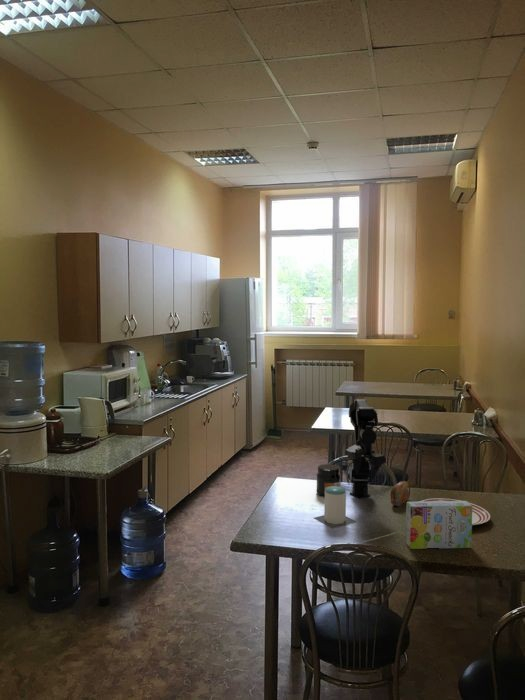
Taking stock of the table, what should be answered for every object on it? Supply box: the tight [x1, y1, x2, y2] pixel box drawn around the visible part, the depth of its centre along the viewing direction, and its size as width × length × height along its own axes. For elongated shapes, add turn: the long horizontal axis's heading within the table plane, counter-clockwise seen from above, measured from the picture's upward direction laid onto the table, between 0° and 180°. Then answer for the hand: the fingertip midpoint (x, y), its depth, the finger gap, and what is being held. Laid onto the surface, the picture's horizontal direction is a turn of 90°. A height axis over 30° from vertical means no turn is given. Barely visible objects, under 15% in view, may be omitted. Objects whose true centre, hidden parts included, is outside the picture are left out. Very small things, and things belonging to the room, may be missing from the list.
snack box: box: [405, 500, 473, 550], centre depth 193 cm, size 21×6×15 cm, turn 92°
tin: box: [390, 480, 411, 507], centre depth 235 cm, size 15×3×8 cm, turn 143°
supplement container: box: [315, 463, 342, 498], centre depth 245 cm, size 10×10×12 cm
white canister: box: [323, 486, 347, 524], centre depth 214 cm, size 8×8×12 cm
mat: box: [313, 514, 358, 530], centre depth 215 cm, size 12×12×1 cm
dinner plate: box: [421, 497, 491, 527], centre depth 219 cm, size 27×27×3 cm
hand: (364, 475), depth 229 cm, fingers open, 9 cm apart
